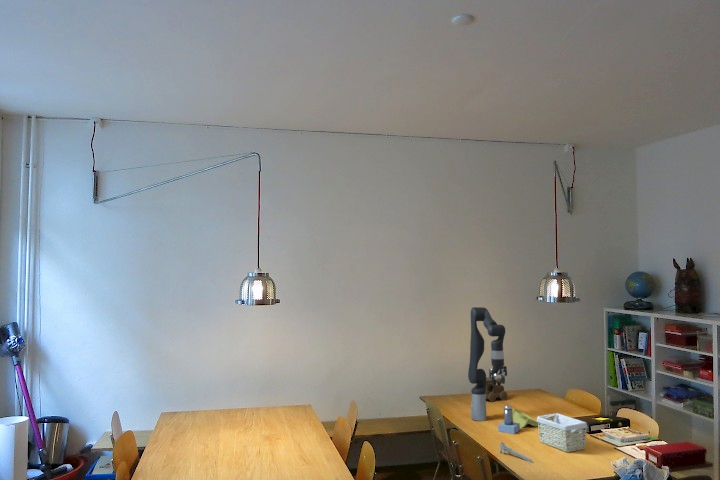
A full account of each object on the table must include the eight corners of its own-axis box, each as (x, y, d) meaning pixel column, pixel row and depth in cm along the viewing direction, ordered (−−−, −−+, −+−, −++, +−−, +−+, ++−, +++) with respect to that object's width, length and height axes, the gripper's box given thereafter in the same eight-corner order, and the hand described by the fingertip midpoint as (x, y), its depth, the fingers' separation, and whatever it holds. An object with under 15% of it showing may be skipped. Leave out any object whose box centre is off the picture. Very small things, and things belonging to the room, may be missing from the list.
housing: (503, 424, 330) (502, 406, 331) (506, 422, 334) (505, 404, 335) (511, 425, 327) (510, 407, 328) (514, 423, 331) (513, 405, 332)
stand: (498, 431, 329) (498, 424, 330) (504, 427, 337) (504, 421, 338) (514, 434, 324) (513, 427, 324) (519, 429, 332) (519, 423, 332)
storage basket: (536, 441, 309) (535, 415, 310) (558, 437, 315) (557, 412, 316) (566, 454, 287) (565, 426, 287) (589, 449, 293) (588, 422, 294)
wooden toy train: (487, 403, 401) (486, 380, 402) (478, 399, 411) (477, 378, 412) (509, 399, 408) (508, 378, 409) (500, 396, 419) (499, 375, 420)
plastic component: (540, 423, 337) (527, 417, 335) (535, 434, 336) (522, 428, 334) (524, 413, 356) (512, 407, 354) (520, 423, 356) (507, 417, 354)
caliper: (499, 453, 291) (499, 441, 291) (501, 453, 292) (500, 441, 292) (532, 463, 275) (531, 450, 275) (533, 462, 276) (533, 450, 276)
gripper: (499, 355, 332) (500, 382, 331) (485, 358, 324) (486, 385, 323) (509, 357, 327) (511, 383, 326) (495, 359, 318) (496, 387, 317)
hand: (498, 384), depth 324 cm, fingers open, 8 cm apart
